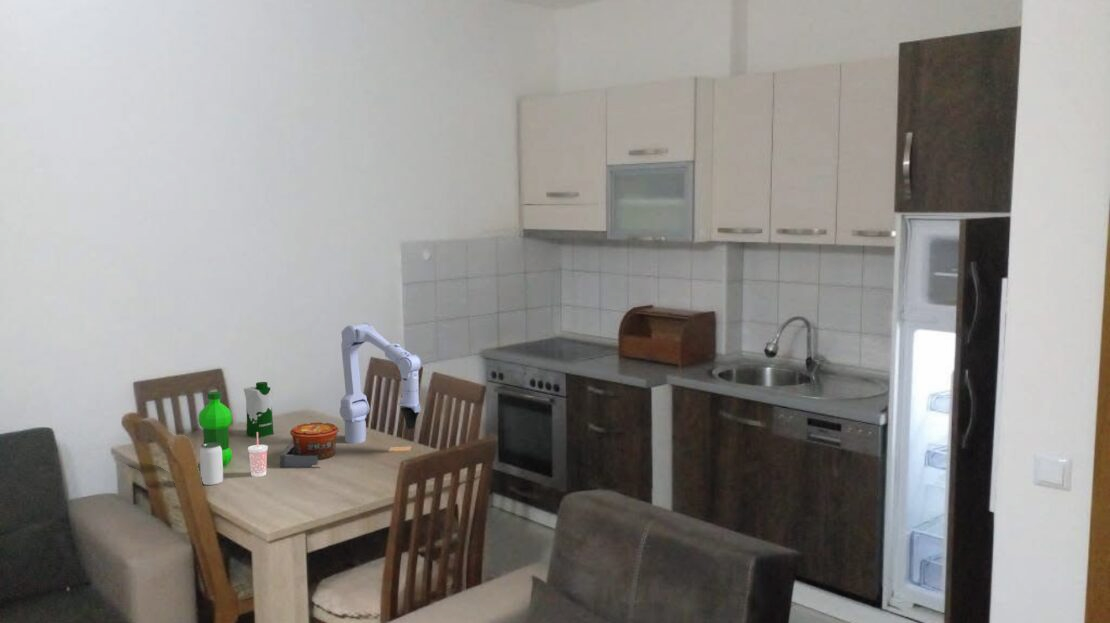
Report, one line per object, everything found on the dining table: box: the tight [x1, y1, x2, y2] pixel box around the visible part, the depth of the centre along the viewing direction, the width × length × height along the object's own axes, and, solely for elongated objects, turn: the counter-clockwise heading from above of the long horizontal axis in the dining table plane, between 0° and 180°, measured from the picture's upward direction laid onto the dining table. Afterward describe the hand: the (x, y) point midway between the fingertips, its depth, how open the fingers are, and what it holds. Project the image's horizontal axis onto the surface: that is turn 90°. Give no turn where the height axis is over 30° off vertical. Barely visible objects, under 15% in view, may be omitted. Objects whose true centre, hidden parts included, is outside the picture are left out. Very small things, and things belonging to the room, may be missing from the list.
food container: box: [289, 422, 339, 461], centre depth 299 cm, size 16×16×11 cm
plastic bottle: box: [198, 390, 233, 469], centre depth 287 cm, size 10×10×25 cm
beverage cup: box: [247, 432, 269, 478], centre depth 281 cm, size 6×6×14 cm
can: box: [199, 443, 224, 486], centre depth 272 cm, size 6×6×12 cm
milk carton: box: [243, 381, 274, 438], centre depth 327 cm, size 9×9×20 cm
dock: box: [279, 442, 319, 469], centre depth 299 cm, size 22×12×4 cm, turn 2°
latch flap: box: [387, 446, 412, 452], centre depth 308 cm, size 5×8×1 cm, turn 92°
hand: (410, 428), depth 304 cm, fingers closed
